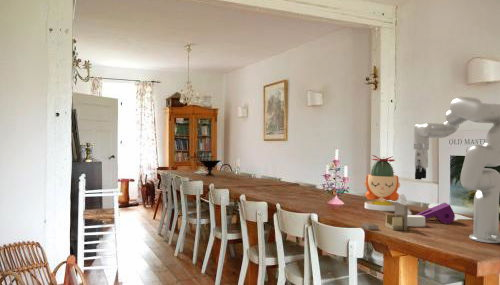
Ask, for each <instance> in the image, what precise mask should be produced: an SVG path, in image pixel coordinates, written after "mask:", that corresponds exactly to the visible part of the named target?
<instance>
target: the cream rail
mask: <svg viewBox="0 0 500 285" xmlns="http://www.w3.org/2000/svg"><path fill="white" fill-rule="evenodd" d="M407 227H426V219H425V217H424V216H421V215H416V214H414V215H413V214H412V215H407Z"/></svg>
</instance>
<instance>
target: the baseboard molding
mask: <svg viewBox="0 0 500 285" xmlns="http://www.w3.org/2000/svg"><path fill="white" fill-rule="evenodd" d="M425 210H428V208H427V207H426V208H425V209H424V211H425ZM454 214H455V218H454V220H453V221H458V222H459V221H462V222H463V221H467V222H468V221H473V218H471V217H467V216H465V215H461V214H459V213H455V212H454Z"/></svg>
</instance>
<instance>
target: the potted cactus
mask: <svg viewBox="0 0 500 285" xmlns="http://www.w3.org/2000/svg"><path fill="white" fill-rule="evenodd" d="M372 157H374V158H371V160H373V161H374V162H375V163H373V165H372V167H371V170H370V171H369V172H370V173H369V174H367V175H366V178H365V181H364V182H363V185H364V187H366V189H367V191H366V192H365V198H366V199H367V200H368V201H365V202H364V209H367V210H372V211H378V212H379V211H380V212H381V211H382V212H394V211H395V202H397V201H399V198H398V197H399V195H400V194H399V193H398V192H397V191H399V190H398V189H399V188H400V187H401V184H400V182H399V176H398V175H395V171H394V167H393V165H392V163H391V162H396V159H395V158H394V159H391V158H393V156H390V157H386V156H381V157H378V156H377V155H373V154H372ZM372 200H374V201H372ZM391 201H392V202H391Z"/></svg>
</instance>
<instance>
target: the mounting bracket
mask: <svg viewBox="0 0 500 285" xmlns="http://www.w3.org/2000/svg"><path fill="white" fill-rule="evenodd" d="M454 213H455V212H454V211H453V208H452V207H451V205H450V204H449V203H447V202H443V203H439V204H437V205H435V206H433V207H429V208H427V209H426V210H425V209H424V210H423V211H420V212H418V213H417V214H415V215H421V216H424V217H425V220H427V219H428V220H429V219H430V218H432V217H435V219H436V220H438V221H440V222H442V223H443V224H451V223H452V222H454V221H455V220H454V218H455V214H456V213H455V214H454Z"/></svg>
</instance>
